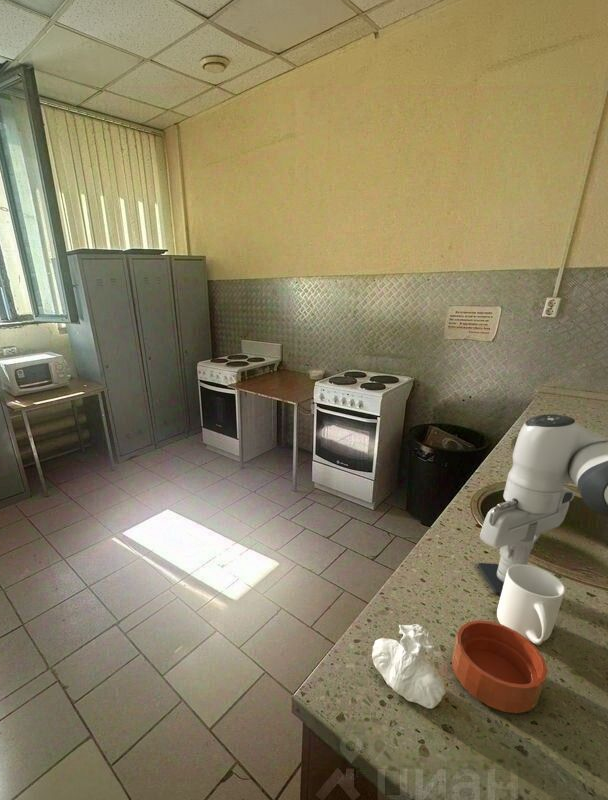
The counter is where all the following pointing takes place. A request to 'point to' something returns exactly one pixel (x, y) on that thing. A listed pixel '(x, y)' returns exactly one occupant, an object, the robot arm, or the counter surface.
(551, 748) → the counter surface
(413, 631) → the white plastic bag
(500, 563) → the container
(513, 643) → the bowl
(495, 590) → the mat
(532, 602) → the mug
